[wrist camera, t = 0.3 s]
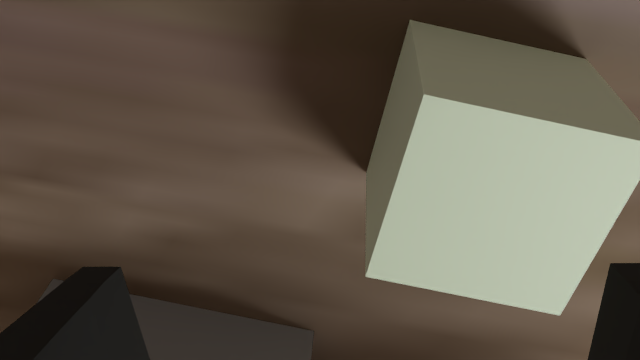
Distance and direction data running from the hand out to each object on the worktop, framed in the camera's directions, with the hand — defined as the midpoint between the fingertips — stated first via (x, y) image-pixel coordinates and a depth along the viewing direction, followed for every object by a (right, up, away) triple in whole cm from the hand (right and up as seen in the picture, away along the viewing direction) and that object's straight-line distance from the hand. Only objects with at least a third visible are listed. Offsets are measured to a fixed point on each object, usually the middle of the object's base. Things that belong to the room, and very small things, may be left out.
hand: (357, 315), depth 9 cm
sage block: (+4, +4, +9) cm, 10 cm away
